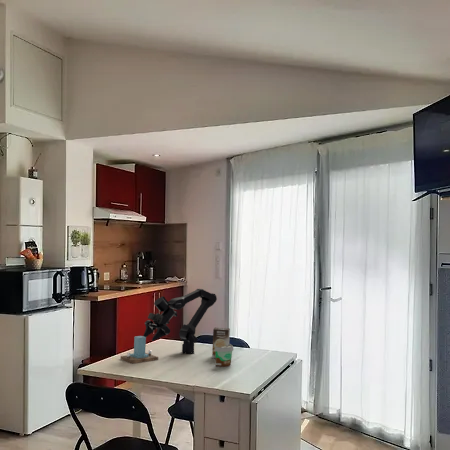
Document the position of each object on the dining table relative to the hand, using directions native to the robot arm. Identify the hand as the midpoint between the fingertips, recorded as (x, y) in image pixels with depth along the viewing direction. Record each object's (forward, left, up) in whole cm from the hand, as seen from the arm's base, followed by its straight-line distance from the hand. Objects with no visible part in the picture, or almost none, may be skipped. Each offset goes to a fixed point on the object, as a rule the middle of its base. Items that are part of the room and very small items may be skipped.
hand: (147, 339), depth 265 cm
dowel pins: (+4, +3, -9) cm, 10 cm away
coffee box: (-40, -6, -11) cm, 42 cm away
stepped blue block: (+4, +3, -9) cm, 10 cm away
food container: (-42, +13, -11) cm, 45 cm away
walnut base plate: (+4, +3, -10) cm, 11 cm away
